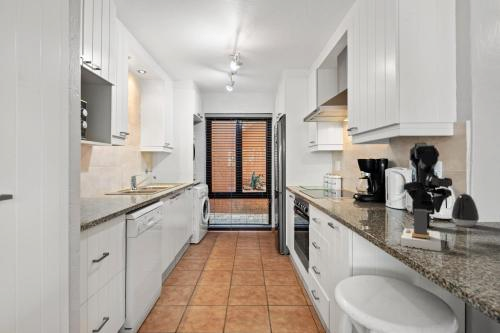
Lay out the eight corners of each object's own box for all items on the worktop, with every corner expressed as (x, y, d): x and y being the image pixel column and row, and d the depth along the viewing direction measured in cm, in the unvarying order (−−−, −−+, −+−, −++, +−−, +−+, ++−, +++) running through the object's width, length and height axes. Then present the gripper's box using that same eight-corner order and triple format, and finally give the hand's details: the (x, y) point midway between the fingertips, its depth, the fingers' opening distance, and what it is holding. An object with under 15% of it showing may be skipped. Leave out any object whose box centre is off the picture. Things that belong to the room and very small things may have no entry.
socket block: (404, 235, 114) (404, 226, 114) (439, 239, 107) (439, 230, 107) (401, 245, 100) (401, 236, 100) (441, 251, 93) (440, 240, 93)
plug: (412, 242, 104) (412, 208, 104) (429, 244, 101) (428, 209, 101) (412, 245, 100) (411, 210, 100) (429, 247, 97) (428, 211, 97)
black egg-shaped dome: (455, 227, 126) (455, 194, 126) (448, 222, 135) (448, 192, 135) (483, 228, 122) (482, 195, 122) (473, 223, 132) (473, 192, 132)
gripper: (425, 164, 104) (427, 204, 99) (463, 173, 108) (466, 212, 104) (402, 170, 114) (403, 207, 110) (437, 179, 118) (440, 214, 114)
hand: (428, 210), depth 109 cm, fingers open, 9 cm apart
